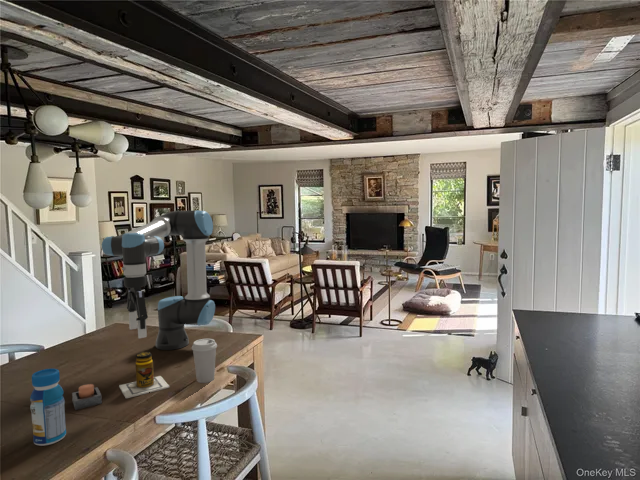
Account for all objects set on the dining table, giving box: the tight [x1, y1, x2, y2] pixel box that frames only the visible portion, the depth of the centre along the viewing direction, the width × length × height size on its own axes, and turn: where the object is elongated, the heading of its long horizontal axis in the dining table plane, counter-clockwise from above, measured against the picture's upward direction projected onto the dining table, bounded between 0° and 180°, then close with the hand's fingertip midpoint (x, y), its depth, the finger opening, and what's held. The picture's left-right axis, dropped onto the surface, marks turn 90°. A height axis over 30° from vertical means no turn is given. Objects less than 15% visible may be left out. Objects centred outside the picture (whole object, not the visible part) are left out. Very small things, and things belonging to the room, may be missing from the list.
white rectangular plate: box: [118, 375, 170, 399], centre depth 161 cm, size 15×12×1 cm
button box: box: [71, 386, 103, 411], centre depth 149 cm, size 8×8×3 cm
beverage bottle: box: [29, 367, 67, 447], centre depth 125 cm, size 8×8×20 cm
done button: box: [78, 383, 95, 398], centre depth 149 cm, size 5×5×3 cm
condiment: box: [128, 351, 159, 390], centre depth 161 cm, size 7×8×12 cm
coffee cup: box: [191, 338, 218, 384], centre depth 167 cm, size 10×10×15 cm
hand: (137, 333), depth 158 cm, fingers open, 13 cm apart
